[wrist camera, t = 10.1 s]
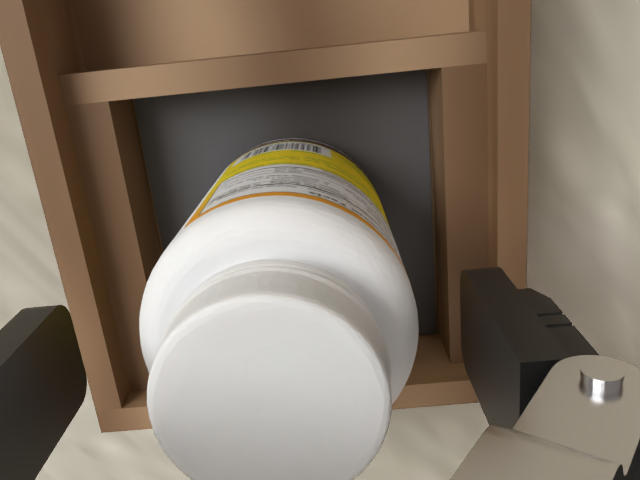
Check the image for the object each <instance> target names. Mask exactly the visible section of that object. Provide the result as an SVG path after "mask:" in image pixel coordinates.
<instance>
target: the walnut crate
mask: <svg viewBox="0 0 640 480" xmlns="http://www.w3.org/2000/svg"><path fill="white" fill-rule="evenodd" d="M530 33H531V0H0V46H1V50H2V54H3V58H4V61H5V65H6V69H7V73H8V77H9V81H10V84H11V88H12V92H13V96H14V100H15V103H16V107H17V111H18V115H19V119H20V123H21V126H22V130H23V134H24V138H25V142H26V146H27V149H28V153H29V157H30V161H31V165H32V169H33V172H34V176H35V180H36V184H37V188H38V191H39V195H40V199H41V203H42V207H43V211H44V214H45V218H46V222H47V226H48V230H49V234H50V237H51V241H52V245H53V249H54V253H55V257H56V260H57V264H58V268H59V272H60V276H61V280H62V283H63V287H64V291H65V295H66V299H67V302H68V306H69V310H70V314H71V318H72V322H73V325H74V329H75V333H76V337H77V341H78V345H79V348H80V352H81V356H82V360H83V364H84V368H85V371H86V375H87V379H88V383H89V387H90V390H91V394H92V398H93V402H94V406H95V410H96V413H97V417H98V421H99V425H100V429H101V433H103V432H116V431H128V430H141V429H153V428H152V425H151V422H150V419H149V414H148V407H147V385H148V378H149V372H148V369H147V366H146V363H145V360H144V357H143V354H142V349H141V343H140V331H139V317H140V309H141V303H142V298H143V294H144V290H145V287H146V284H147V281H148V279H149V277H150V274H151V272H152V270H153V268H154V267H155V265H156V263H157V262H158V260H159V258H160V257H161V255H162V254H163V252H164V251H165V249H166V248H167V247H168V245H169V244H170V243H171V241H172V240H173V239H174V238H175V236H176V235H177V234H178V232H179V231H180V229H181V228H182V227H183V225H184V224H185V223H186V221H187V220H188V218H189V217H190V216H191V214H192V213H193V212H194V210H195V209H196V208H197V206H198V205H199V204H200V202H201V201H202V199H203V198H204V197H205V195H206V194H207V193H208V191H209V190H210V189H211V187H212V186H213V185H214V183H215V182H216V181H217V179H218V178H219V177H220V175H221V174H222V173H223V171H224V170H225V169H226V168H227V167H228V166H229V165H230V164H231V163H232V162H233V161H234V160H235V159H237V158H238V157H239V156H240V155H242V154H243V153H245V152H246V151H248V150H250V149H251V148H253V147H256V146H258V145H261V144H263V143H266V142H269V141H273V140H278V139H288V138H299V139H308V140H313V141H317V142H321V143H324V144H327V145H329V146H331V147H333V148H335V149H337V150H339V151H341V152H342V153H344V154H345V155H347V156H348V157H349V158H351V159H352V160H353V161H354V162H355V163H356V164H358V165H359V166H360V168H361V169H362V170H363V171H364V172H365V174H366V175H367V176H368V178H369V179H370V181H371V182H372V184H373V185H374V187H375V189H376V192H377V194H378V196H379V198H380V201H381V204H382V207H383V210H384V212H385V215H386V218H387V221H388V224H389V227H390V230H391V232H392V235H393V238H394V240H395V243H396V246H397V249H398V251H399V254H400V257H401V260H402V262H403V265H404V268H405V270H406V273H407V275H408V278H409V281H410V284H411V287H412V291H413V294H414V298H415V302H416V307H417V312H418V325H419V334H418V345H417V352H416V356H415V360H414V363H413V367H412V370H411V373H410V375H409V377H408V380H407V382H406V384H405V386H404V388H403V389H402V391H401V393H400V394H399V396H398V397H397V399H396V400H395V401H394V403H393V404H392V408H391V409H402V408H415V407H427V406H440V405H452V404H465V403H477V402H479V400H478V398H477V395H476V393H475V391H474V388H473V386H472V384H471V381H470V379H469V377H468V374H467V372H466V369H465V366H464V361H463V356H462V348H461V317H460V275H461V272H462V270H470V269H481V268H492V267H501V268H502V270H503V271H504V272H505V274H506V275H507V276H508V277H509V279H510V280H511V281H512V283H513V284H514V285H515V287H516V288H517V289H526V271H527V211H528V152H529V92H530Z"/></svg>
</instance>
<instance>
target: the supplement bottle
mask: <svg viewBox="0 0 640 480" xmlns="http://www.w3.org/2000/svg"><path fill="white" fill-rule="evenodd" d="M139 331H140V343H141V349H142V354H143V357H144V360H145V363H146V366H147V369H148V372H149V378H148V385H147V407H148V414H149V419H150V422H151V425H152V428H153V432H154V435H155V436H156V438H157V440H158V442H159V444H160V446H161V447H162V449H163V450H164V452H165V453H166V455H167V456H168V457H169V459H170V460H171V461H172V462H173V463H174V464H175V465H176V466H177V467H178V469H179V470H180V471H182V472H183V473H184V474H185V475H187V476H188V477H189V478H190V479H192V480H353V479H354V478H355V477H357V476H358V475H359V474H360V473H361V472H362V471H363V470H364V469H365V468H366V467H367V466H368V465H369V463H370V462H371V461H372V459H373V458H374V457H375V455H376V454H377V452H378V451H379V449H380V447H381V445H382V443H383V441H384V438H385V435H386V433H387V430H388V427H389V423H390V417H391V408H392V404H393V403H394V401H395V400H396V399H397V397H398V396H399V394H400V393H401V391H402V389H403V388H404V386H405V384H406V382H407V380H408V377H409V375H410V373H411V370H412V367H413V363H414V360H415V356H416V352H417V345H418V334H419V325H418V312H417V307H416V302H415V298H414V294H413V291H412V287H411V284H410V281H409V278H408V275H407V273H406V270H405V268H404V265H403V262H402V260H401V257H400V254H399V251H398V249H397V246H396V243H395V240H394V238H393V235H392V232H391V230H390V227H389V224H388V221H387V218H386V215H385V212H384V210H383V207H382V204H381V201H380V198H379V196H378V194H377V192H376V189H375V187H374V185H373V184H372V182H371V181H370V179H369V178H368V176H367V175H366V174H365V172H364V171H363V170H362V169H361V168H360V166H359V165H358V164H356V163H355V162H354V161H353V160H352V159H351V158H349V157H348V156H347V155H345V154H344V153H342V152H341V151H339V150H337V149H335V148H333V147H331V146H329V145H327V144H324V143H321V142H317V141H313V140H308V139H299V138H288V139H278V140H273V141H269V142H266V143H263V144H261V145H258V146H256V147H253V148H251V149H250V150H248V151H246V152H245V153H243V154H242V155H240V156H239V157H238V158H237V159H235V160H234V161H233V162H232V163H231V164H230V165H229V166H228V167H227V168H226V169H225V170H224V171H223V173H222V174H221V175H220V177H219V178H218V179H217V181H216V182H215V183H214V185H213V186H212V187H211V189H210V190H209V191H208V193H207V194H206V195H205V197H204V198H203V199H202V201H201V202H200V204H199V205H198V206H197V208H196V209H195V210H194V212H193V213H192V214H191V216H190V217H189V218H188V220H187V221H186V223H185V224H184V225H183V227H182V228H181V229H180V231H179V232H178V234H177V235H176V236H175V238H174V239H173V240H172V241H171V243H170V244H169V245H168V247H167V248H166V249H165V251H164V252H163V254H162V255H161V257H160V258H159V260H158V262H157V263H156V265H155V267H154V268H153V270H152V272H151V274H150V277H149V279H148V281H147V284H146V287H145V290H144V294H143V298H142V303H141V309H140V317H139Z"/></svg>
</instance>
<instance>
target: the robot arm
mask: <svg viewBox="0 0 640 480" xmlns="http://www.w3.org/2000/svg"><path fill="white" fill-rule="evenodd" d="M460 317H461V348H462V356H463V361H464V366H465V369H466V372H467V374H468V377H469V379H470V381H471V384H472V386H473V388H474V391H475V393H476V395H477V398H478V400H479V402H480V404H481V407H482V409H483V411H484V414H485V416H486V418H487V421H488V423H489V425H490V426H489V427H488V428H487V429H486V430H485V431H484V433H483V434H482V436H481V437H480V438H479V440H478V441H477V443H476V444H475V445H474V447H473V448H472V450H471V451H470V453H469V454H468V455H467V457H466V458H465V460H464V461H463V462H462V464H461V465H460V467H459V468H458V469H457V471H456V472H455V474H454V475H453V477H452V478H451V479H450V480H640V368H638V367H637V366H635V365H633V364H630V363H628V362H625V361H623V360H619V359H616V358H612V357H606V356H600V355H599V354H598V353H597V352H596V351H595V350H594V348H593V347H592V346H591V345H590V344H589V343H588V341H587V340H586V339H585V338H584V337H583V336H582V335H581V333H580V332H579V331H578V330H577V329H576V328H575V326H572V323H571V322H570V321H569V319H568V318H567V317H566V316H565V315H562V311H561V310H560V309H559V308H558V307H557V305H556V304H555V303H554V302H553V301H552V300H551V299H550V298H548V297H546V296H544V295H543V294H541V293H539V292H537V291H535V290H533V289H531V288H526V289H517V288H516V287H515V285H514V284H513V283H512V281H511V280H510V279H509V277H508V276H507V275H506V274H505V272H504V271H503V270H502V268H501V267H492V268H481V269H470V270H462V272H461V275H460ZM86 387H87V378H86V372H85V368H84V364H83V360H82V356H81V352H80V349H79V345H78V341H77V337H76V333H75V330H74V326H73V322H72V318H71V315H70V313H69V311H68V309H67V308H66V307H65V306H63V305H56V306H45V307H34V308H25V309H22V310H21V311H20V312H19V313H18V314H17V315H16V316H15V317H14V318H13V319H12V320H11V321H9V322H8V323H7V324H6V325H5V326H4V327H3V328H2V329H1V330H0V480H35V478H36V477H37V475H38V473H39V472H40V470H41V469H42V467H43V465H44V464H45V462H46V461H47V459H48V457H49V456H50V454H51V453H52V451H53V449H54V448H55V446H56V445H57V443H58V442H59V440H60V438H61V437H62V435H63V434H64V432H65V430H66V429H67V427H68V426H69V424H70V422H71V421H72V419H73V418H74V416H75V414H76V413H77V411H78V410H79V408H80V406H81V405H82V403H83V401H84V398H85V394H86Z"/></svg>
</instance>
